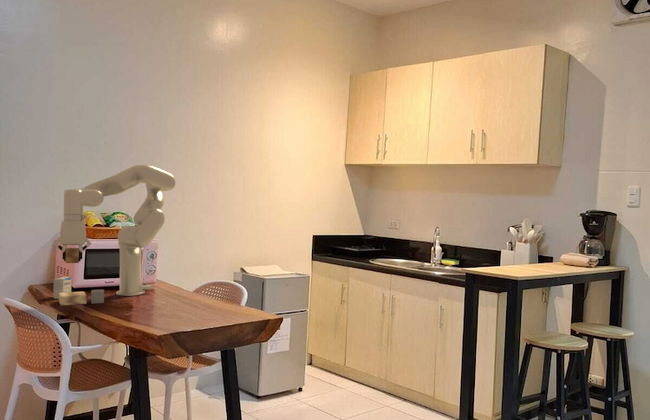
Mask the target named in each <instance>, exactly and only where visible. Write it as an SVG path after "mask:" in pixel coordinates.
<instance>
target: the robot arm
mask: <svg viewBox="0 0 650 420" xmlns="http://www.w3.org/2000/svg"><path fill="white" fill-rule="evenodd" d="M140 184H145V187H146V191H147V194H146V197H145V199H144V201H143V202H142V204H141V205H140V206H139V208H138V209H137V211H135V212H134V213H135V214H134V215H133V221H132V222H133V224H134V225H125V226H123V227H122V228H121V229H120V230H119V231H118V235H117V241H118V248H119V290H117V291H116V292H115V294H116V296H121V297H132V296H134V297H135V296H141V295H145V292H146V291H145V290H153V289H152V285H150V284H148V285H147V284H146V285H145V284H143V283H142V250H141V248H146V247H148V246H149V245H151V243H152V242H153V240H154V239H155V238H156V236H157V235H158V234H159V232H160V231H161V230H162V227H163V226H164V223H165V213H164V211H163V210H162V208H163V207H164V204H165V197H164V196H165V195H164V192H170V191H171V190H173V189H174V188H175V186H176V178H175V177H174V175H173V174H171V173H170V172H167V171H165V170H162V169H161V168H157V167H156V166H152V165H149V164H136V165H133V166H130V167H128V168H126V169H124V170H122V171H120V172H118V173H116V174H113V175H112V176H109V177H106V178H104V179H101V180H97V181H95V182H92V183H91V184H88V185H85V186H84V187H82V188H80V189H78V188H77V189H76V188H75V189H74V188H71V189H70V188H69V189H65V190H64V192H63V221H61V224H60V229H59V230H60V231H59V237H58V238H57V239H56V241H55V242H53V245H54V246H55V247H57V248H58V250H60V251H61V252H62V260H63V262H65V263H66V248H68V246H78V248H79V262H81V260H83V252H84V251H85V250H86V249H87V248H89V247H90V246H91V245H92V242H91V241H90V240H89V238H88V237H87V232H86V231H87V229H86V228H87V227H86V223H85V221H84V220H86V219H87V215H84V207H89V208H90V207H91V208H92V207H93V208H95V207H98V206H100V205H101V204H102V203H103V202H104V198H105V197H109V196H114V195H115V196H116V195H119V194H122V193H124V192H127V191H128V190H130V189H131V188H134V187H136V186H137V185H140ZM62 245H63V246H62ZM83 245H84V246H83Z"/></svg>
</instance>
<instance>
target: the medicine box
mask: <svg viewBox="0 0 650 420" xmlns="http://www.w3.org/2000/svg"><path fill="white" fill-rule="evenodd" d="M67 292H72V277H71V276H62V277H58V278H57V277H56V278H54V279H53V299H58V300H59V293H67Z"/></svg>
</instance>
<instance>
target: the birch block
mask: <svg viewBox="0 0 650 420" xmlns="http://www.w3.org/2000/svg"><path fill="white" fill-rule="evenodd" d="M58 303H59V306H73V305H86V304H87V294H86V291H71V292H67V293H59V299H58Z"/></svg>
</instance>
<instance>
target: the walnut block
mask: <svg viewBox="0 0 650 420" xmlns="http://www.w3.org/2000/svg"><path fill="white" fill-rule="evenodd" d="M79 250H80V249H79V247H66V261H65V264H79V263H80V261H79Z"/></svg>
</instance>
